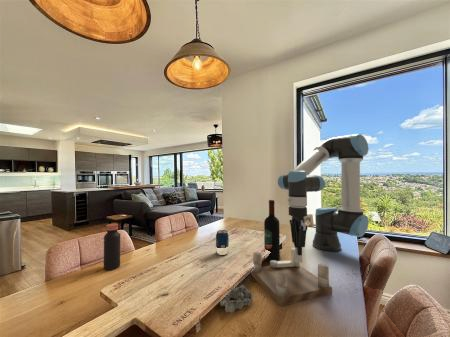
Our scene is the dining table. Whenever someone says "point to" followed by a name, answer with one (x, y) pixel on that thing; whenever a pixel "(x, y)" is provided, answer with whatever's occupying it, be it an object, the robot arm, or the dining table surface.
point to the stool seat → (291, 282)
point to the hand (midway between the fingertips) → (298, 261)
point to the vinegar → (112, 247)
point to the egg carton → (240, 302)
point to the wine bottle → (272, 234)
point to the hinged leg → (285, 263)
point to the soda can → (222, 239)
